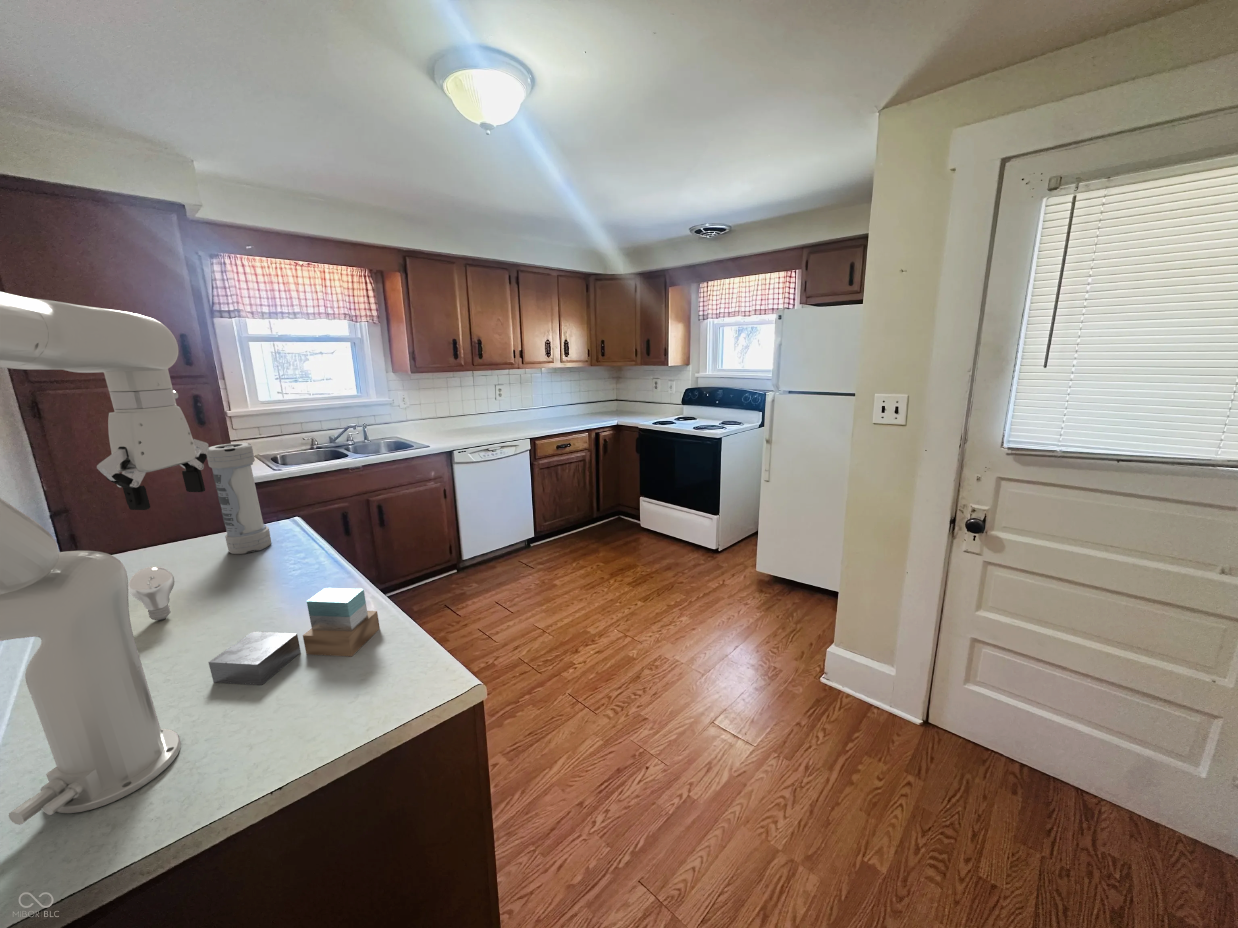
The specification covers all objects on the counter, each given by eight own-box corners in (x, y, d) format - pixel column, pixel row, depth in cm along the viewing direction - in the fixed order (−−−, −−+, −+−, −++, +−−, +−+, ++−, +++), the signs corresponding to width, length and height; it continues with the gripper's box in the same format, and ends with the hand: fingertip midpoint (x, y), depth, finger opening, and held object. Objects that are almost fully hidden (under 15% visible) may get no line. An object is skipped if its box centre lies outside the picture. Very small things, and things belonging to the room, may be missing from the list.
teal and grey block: (312, 629, 90) (306, 601, 89) (329, 615, 95) (325, 587, 94) (352, 631, 90) (347, 602, 88) (368, 616, 95) (363, 589, 93)
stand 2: (351, 656, 89) (348, 637, 88) (306, 654, 90) (302, 635, 89) (379, 628, 98) (377, 610, 97) (338, 626, 98) (335, 609, 97)
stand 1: (261, 684, 82) (257, 664, 81) (213, 682, 83) (208, 662, 82) (300, 652, 90) (297, 633, 89) (256, 650, 91) (252, 631, 90)
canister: (229, 558, 132) (205, 451, 125) (228, 547, 140) (205, 446, 133) (273, 547, 139) (252, 446, 132) (270, 537, 146) (250, 441, 139)
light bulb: (152, 631, 98) (137, 577, 95) (131, 625, 100) (115, 573, 97) (191, 613, 104) (178, 563, 102) (170, 608, 107) (157, 558, 104)
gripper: (175, 396, 88) (197, 485, 92) (60, 408, 71) (93, 517, 75) (213, 395, 87) (233, 486, 91) (105, 407, 71) (136, 517, 75)
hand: (169, 500), depth 83 cm, fingers open, 9 cm apart
